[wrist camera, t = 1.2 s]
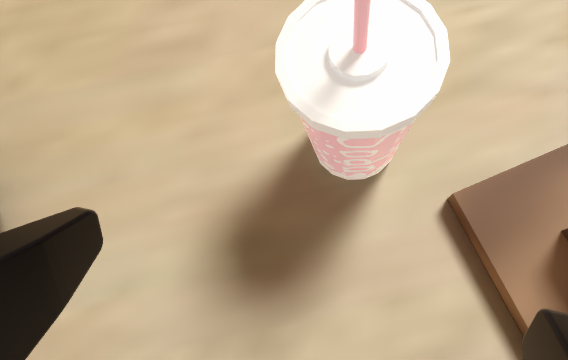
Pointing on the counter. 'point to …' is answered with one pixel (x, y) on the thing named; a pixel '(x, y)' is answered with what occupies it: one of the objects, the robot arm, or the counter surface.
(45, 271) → the robot arm
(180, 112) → the counter surface
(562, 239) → the cup holder
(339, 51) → the beverage cup
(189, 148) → the counter surface
